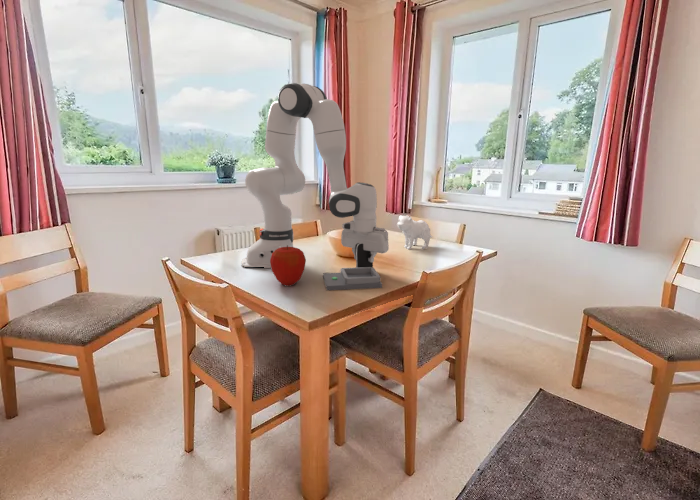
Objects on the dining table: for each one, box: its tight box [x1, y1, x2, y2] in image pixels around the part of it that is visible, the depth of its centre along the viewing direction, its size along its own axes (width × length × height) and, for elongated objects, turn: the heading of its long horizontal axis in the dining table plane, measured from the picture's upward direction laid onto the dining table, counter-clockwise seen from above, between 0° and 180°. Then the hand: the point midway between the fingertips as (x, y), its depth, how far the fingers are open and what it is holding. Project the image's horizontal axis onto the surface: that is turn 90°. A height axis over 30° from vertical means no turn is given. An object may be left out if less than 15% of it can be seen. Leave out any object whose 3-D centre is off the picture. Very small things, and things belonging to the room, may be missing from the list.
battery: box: [355, 243, 374, 268], centre depth 142 cm, size 7×4×11 cm, turn 111°
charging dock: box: [322, 266, 383, 291], centre depth 129 cm, size 19×14×4 cm
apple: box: [270, 245, 307, 287], centre depth 125 cm, size 12×12×14 cm
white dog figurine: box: [394, 214, 434, 251], centre depth 180 cm, size 25×10×17 cm, turn 125°
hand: (363, 260), depth 142 cm, fingers closed on battery, 5 cm apart
